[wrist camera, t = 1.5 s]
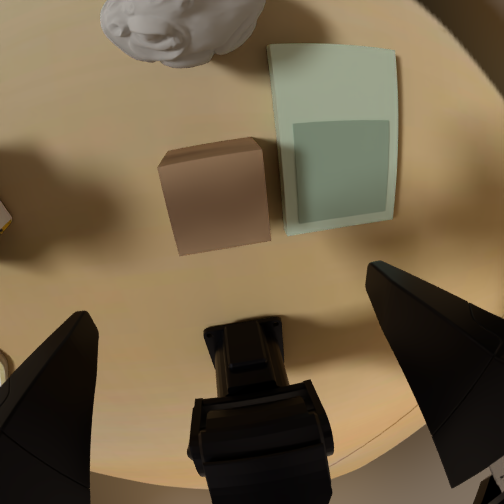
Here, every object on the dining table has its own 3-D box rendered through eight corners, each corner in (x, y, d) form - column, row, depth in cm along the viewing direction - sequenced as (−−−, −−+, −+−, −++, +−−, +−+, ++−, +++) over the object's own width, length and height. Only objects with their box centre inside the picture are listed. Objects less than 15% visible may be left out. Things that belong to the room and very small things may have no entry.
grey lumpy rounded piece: (125, -2, 11) (83, -42, 5) (245, -26, 11) (267, -80, 5) (140, 85, 14) (99, 85, 8) (261, 61, 14) (294, 44, 8)
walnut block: (259, 211, 19) (271, 240, 16) (184, 224, 19) (179, 256, 16) (250, 136, 17) (262, 149, 13) (168, 150, 17) (157, 167, 13)
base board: (385, 213, 21) (393, 219, 20) (283, 229, 20) (287, 236, 19) (386, 51, 14) (395, 50, 13) (266, 46, 14) (270, 43, 13)
